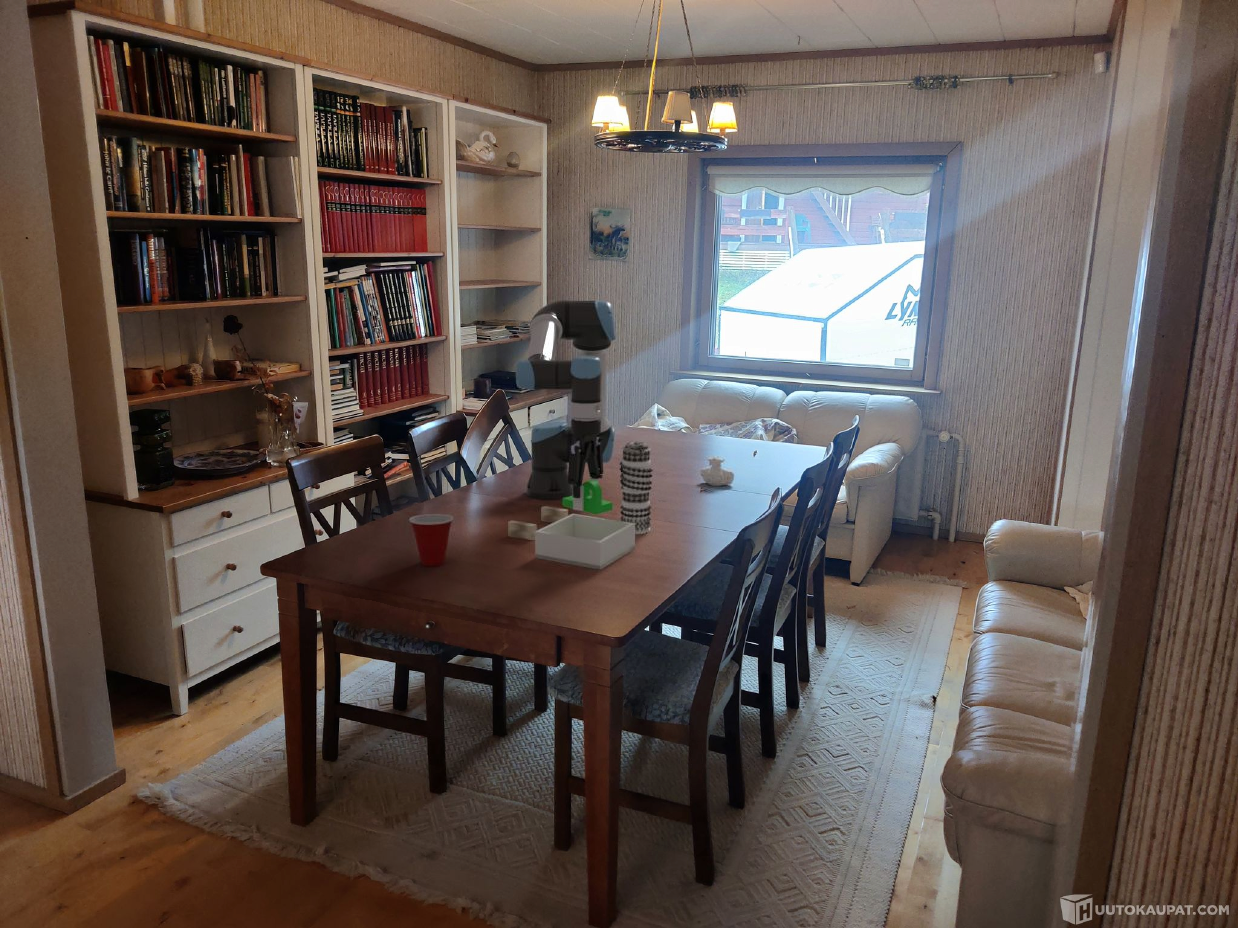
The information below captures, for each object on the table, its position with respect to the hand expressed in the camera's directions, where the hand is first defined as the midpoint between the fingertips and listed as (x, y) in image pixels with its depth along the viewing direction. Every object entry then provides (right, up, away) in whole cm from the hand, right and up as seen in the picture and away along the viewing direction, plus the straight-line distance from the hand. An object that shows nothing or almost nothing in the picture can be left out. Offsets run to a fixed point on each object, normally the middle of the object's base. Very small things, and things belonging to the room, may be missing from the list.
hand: (585, 506), depth 232 cm
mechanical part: (0, -1, 0) cm, 1 cm away
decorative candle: (+13, -8, +24) cm, 28 cm away
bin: (0, -12, +3) cm, 13 cm away
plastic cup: (-38, -14, -5) cm, 41 cm away
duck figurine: (+42, +3, +75) cm, 86 cm away
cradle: (-14, -8, +23) cm, 28 cm away
